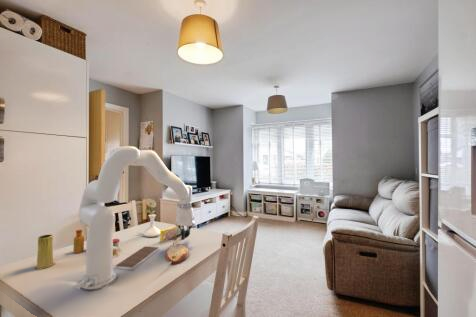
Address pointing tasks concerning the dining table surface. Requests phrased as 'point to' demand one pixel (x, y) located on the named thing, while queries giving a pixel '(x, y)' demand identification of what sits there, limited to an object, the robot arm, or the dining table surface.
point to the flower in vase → (151, 220)
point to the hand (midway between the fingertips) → (185, 236)
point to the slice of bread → (177, 253)
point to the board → (137, 257)
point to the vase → (45, 251)
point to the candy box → (170, 234)
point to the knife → (180, 238)
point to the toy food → (80, 243)
